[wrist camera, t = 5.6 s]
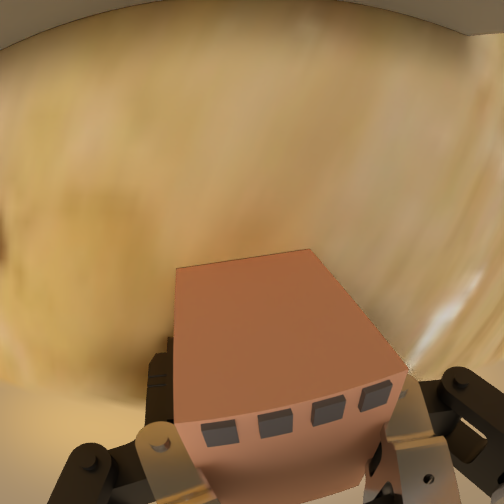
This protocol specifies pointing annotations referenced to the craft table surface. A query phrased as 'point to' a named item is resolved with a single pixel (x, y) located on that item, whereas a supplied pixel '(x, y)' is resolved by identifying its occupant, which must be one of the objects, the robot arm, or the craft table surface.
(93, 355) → the craft table surface
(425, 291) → the craft table surface
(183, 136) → the craft table surface
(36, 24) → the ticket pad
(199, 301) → the stub
